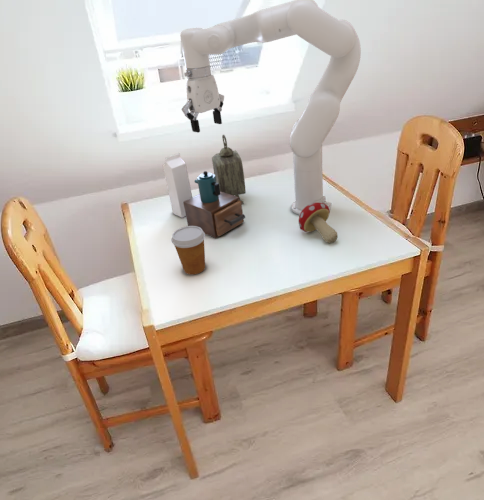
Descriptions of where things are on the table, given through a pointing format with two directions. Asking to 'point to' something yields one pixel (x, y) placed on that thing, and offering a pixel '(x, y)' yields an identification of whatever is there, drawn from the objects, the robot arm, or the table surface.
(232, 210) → the drawer
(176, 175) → the milk
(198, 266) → the disposable coffee cup
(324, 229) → the decorative mushroom
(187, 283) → the table surface
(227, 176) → the green bell
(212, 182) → the kettle
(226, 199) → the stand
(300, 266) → the table surface
